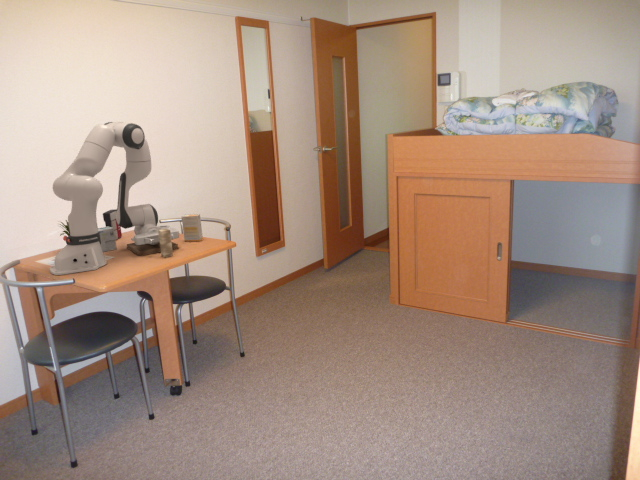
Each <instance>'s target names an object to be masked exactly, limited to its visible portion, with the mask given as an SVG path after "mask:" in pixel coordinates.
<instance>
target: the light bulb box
mask: <svg viewBox="0 0 640 480" xmlns="http://www.w3.org/2000/svg"><path fill="white" fill-rule="evenodd" d="M98 232H99V233H100V237H101V248H102V251H103V253H106V252H110V251H114V250H117V249H118V248H117V242H116V240H115V233H114V228H113V227H109V226H107V227H106V226H103V227H99V228H98Z"/></svg>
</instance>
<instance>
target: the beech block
mask: <svg viewBox="0 0 640 480" xmlns="http://www.w3.org/2000/svg"><path fill="white" fill-rule="evenodd" d="M158 233H159V241H160V249H161V252H160V257H162V258H164V259H165V258H170V257H174V253H173V252H174V249H173V250H172V242H173V241H172V240H171V233H170V230H169V229H162V230H158Z"/></svg>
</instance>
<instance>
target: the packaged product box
mask: <svg viewBox="0 0 640 480" xmlns="http://www.w3.org/2000/svg"><path fill="white" fill-rule="evenodd" d="M116 212H117V208H116V209H110V210H107V211H105V212H103V213H102V218H103V222H104V225H105V227H107V226H109V227H113V228H114V233H115V240H118V239H120V238H122V237H123V234H122V227H121V226H119V225H118V224H117V221H116Z"/></svg>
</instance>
